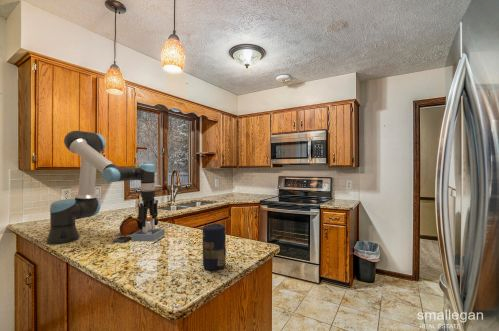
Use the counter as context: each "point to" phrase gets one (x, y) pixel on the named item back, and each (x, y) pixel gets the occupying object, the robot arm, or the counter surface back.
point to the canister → (214, 246)
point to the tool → (132, 225)
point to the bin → (148, 235)
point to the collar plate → (121, 240)
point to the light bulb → (149, 224)
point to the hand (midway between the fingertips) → (148, 231)
